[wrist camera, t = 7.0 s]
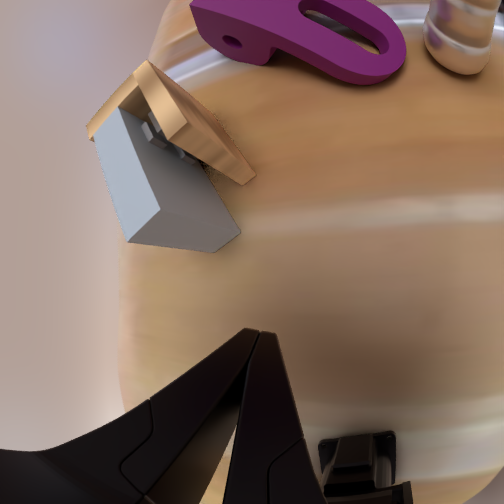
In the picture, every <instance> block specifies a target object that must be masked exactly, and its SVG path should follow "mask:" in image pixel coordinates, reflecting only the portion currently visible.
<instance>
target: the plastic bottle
mask: <svg viewBox="0 0 504 504" xmlns="http://www.w3.org/2000/svg"><path fill="white" fill-rule="evenodd" d="M500 3H501V0H431V2H430V8H429V11H428V13H427V15H426V18H425V21H424V25H423V35H424V42H425V45H426V47H427V49H428V50H429V52H430V53H431V55H432V56H433V57H434V59H435V60H436V61H437V62H439V63H440V64H441V65H442V66H444V67H445V68H447V69H449V70H451V71H453V72H455V73H459V74H464V75H470V74H476V73H479V72H480V71H481V70H482V69H483V68H484V67H485V65H486V64H487V63H488V61H489V56H490V51H491V37H492V33H493V27H494V22H495V17H496V14H497V11H498V7H499V6H500Z"/></svg>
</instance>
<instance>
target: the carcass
mask: <svg viewBox="0 0 504 504" xmlns="http://www.w3.org/2000/svg"><path fill="white" fill-rule="evenodd" d="M117 107H120V108H122V109H123V110H125V111H127V112H129V113H131V114H132V115H134V116H136V117H138V118H139V119H141V120H143V121H144V122H148V123H149V124H151V125H153V126H154V127H155V129H156V131H157V133H158V134H160V135H162V136H163V137H165V138H167V140H168V141H170V142H172V143H173V144H175V145H177V146H178V147H180V148H182V149H183V150H185V151H187V152H189V153H190V154H192V155H193V156H195V157H197V158H198V159H200V160H202V161H203V162H205V163H207V164H208V165H210V166H212V167H213V168H215V169H216V170H218V171H220V172H221V173H223V174H224V175H226V176H228V177H229V178H231V179H232V180H234V181H236V182H237V183H239V184H240V185H242V186H243V185H244V184H245V183H247V182H248V181H249V180H251V179H252V178H253V177H255V176H256V174H255V172H254V171H253V170H252V168H251V167H250V165H249V164H248V162H247V161H246V160H245V158H244V157H243V155H242V154H241V153H240V151H239V150H238V148H237V147H236V146H235V144H234V143H233V141H232V140H231V139H230V137H229V136H228V135H227V133H226V132H225V131H224V129H223V128H222V126H221V125H220V124H219V122H218V121H217V120H216V118H215V117H214V116H213V114H212V113H211V112H210V111H208V110H207V109H206V108H205V107H204V106H203V105H202V104H200V103H199V102H198V101H197V100H196V99H195V98H193V97H192V96H191V95H190V94H189V93H188V92H186V91H185V90H184V89H183V88H182V87H180V86H179V85H178V84H177V83H175V82H174V81H173V80H172V79H171V78H169V77H168V76H167V75H166V74H164V73H163V72H162V71H161V70H159V69H158V68H157V67H156V66H154V65H153V64H152V63H150V62H149V61H148V60H146V61H145V62H144V63H143V64H141V66H139V67H138V68H137V69H136V70H135V71H134V72H133V73H132V74H131V75H130V76H129V77H128V78H127V79H126V80H125V81H124V83H123V84H122V85H121V86H120V87H119V88H118V89H117V90H116V91H115V92H114V93H113V94H112V95H111V97H110V98H109V99H108V100H107V101H106V102H105V103H104V105H103V106H102V107H101V108H100V109H99V110H98V112H97V113H96V114H95V115H94V117H93V118H92V119H91V120H90V121H89V123H88V124H87V125H86V127H87V131H88V136H89V140H91V141H93V142H95V141H94V137H93V135H94V133H95V132H96V131H97V130H98V128H99V127H100V126H101V125H102V124H103V122H104V121H105V120H106V119H107V118H108V117H109V116H110V114H111V113H112V112H113V111H114V110H115V109H116V108H117Z"/></svg>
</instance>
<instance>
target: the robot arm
mask: <svg viewBox="0 0 504 504" xmlns="http://www.w3.org/2000/svg"><path fill="white" fill-rule="evenodd" d="M236 425H237V427H236ZM235 427H236V433H235V438H234V444H233V449H232V455H231V460H230V466H229V471H228V476H227V482H226V487H225V492H224V498H223V503H222V504H413V497H412V490H411V484H410V481H407V482H403V484H400V485H395V486H391V485H393V484H394V483H395V469H396V435H395V432H393V431H387V432H382V433H376V434H364V435H357V436H350V437H342V438H339V439H329V440H322V441H320V442H319V445H318V450H319V457H320V463H321V470H322V478H321V481H320V483H319V482H318V479H317V477H316V474H315V472H314V468H313V465H312V462H311V459H310V456H309V452H308V449H307V445H306V441H305V439H304V434H303V431H302V427H301V423H300V419H299V416H298V412H297V408H296V404H295V401H294V397H293V393H292V390H291V386H290V382H289V378H288V375H287V371H286V367H285V364H284V360H283V356H282V352H281V349H280V345H279V341H278V338H277V335H276V334H275V333H272V332H266V331H261V332H260V331H259V330H255V329H250V328H244V329H242V330H241V331H240V332H238V333H237V334H236V335H235V336H233V337H232V338H231V339H229V340H228V341H227V342H226V343H224V344H223V345H222V346H220V347H219V348H218V349H216V350H215V351H214V352H212V353H211V354H210V355H208V356H207V357H206V358H204V359H203V360H202V361H200V362H199V363H198V364H196V365H195V366H194V367H192V368H191V369H189V370H188V371H187V372H185V373H184V374H183V375H181V376H180V377H178V378H177V379H176V380H174V381H173V382H171V383H170V384H169V385H167V386H166V387H164V388H163V389H161V390H160V391H159V392H157V393H156V394H154V395H153V396H151V397H150V400H149V399H147V400H145V401H144V402H142V403H141V404H139V405H138V406H136V407H135V408H133V409H132V410H130V411H129V412H127V413H125V414H124V415H122V416H120V417H119V418H117V419H115V420H113V421H112V422H109V423H108V424H106V425H103V426H102V427H100V428H97V429H95V430H93V431H91V432H89V433H87V434H85V435H82V436H80V437H78V438H75V439H73V440H71V441H69V442H66V443H64V444H62V445H59V446H57V447H54V448H50V449H47V450H42V451H30V452H29V451H15V450H5V449H0V504H199V503H200V501H201V499H202V497H203V495H204V493H205V491H206V489H207V487H208V485H209V483H210V481H211V479H212V477H213V475H214V473H215V471H216V468H217V466H218V464H219V462H220V460H221V458H222V456H223V454H224V451H225V449H226V447H227V445H228V443H229V441H230V438H231V436H232V434H233V432H234V430H235ZM388 436H392V437H391V438H387V437H388ZM323 444H324V445H326V446H325V447H324V446H322V445H323Z"/></svg>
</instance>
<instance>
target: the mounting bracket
mask: <svg viewBox="0 0 504 504" xmlns="http://www.w3.org/2000/svg"><path fill="white" fill-rule="evenodd" d="M190 8H191V11H192V14H193V17H194V20H195V23H196V26H197V29H198V31H199V33H200V35H201V37H202V38H203V39H204V40H205V41H206V42H207V43H208V44H209V45H210V46H211V47H213V48H214V49H216V50H217V51H218V52H220V53H222V54H223V55H225V56H227V57H229V58H231V59H233V60H236V61H238V62H244V63H249V64H254V65H263V64H265V63H267V62H268V60H269V59H270V57H271V56H272V55H273V53H274V52H275V51H276V49H277V48H279V49H281V50H283V51H285V52H287V53H290V54H292V55H294V56H296V57H298V58H300V59H302V60H304V61H305V62H307V63H309V64H311V65H313V66H315V67H317V68H319V69H320V70H322V71H324V72H326V73H327V74H329V75H331V76H333V77H335V78H337V79H340V80H342V81H345V82H349V83H353V84H360V85H370V84H376V83H379V82H382V81H383V80H385V79H387V78H388V77H389V76H390V75H391V74H393V73H394V72H395V71H396V70H397V69H398V68H399V67H400V66H401V65H402V64H403V62H404V60H405V56H406V45H405V41H404V38H403V35H402V33H401V31H400V29H399V28H398V26H397V25H396V24H395V22H394V21H393V20H392V19H391V18H390V17H389V16H388V15H387V14H386V13H385V12H383V11H382V10H381V9H379V8H378V7H377V6H375V5H373V4H372V3H370V2H368V1H366V0H193V1H192V2H191V3H190ZM307 10H313V11H317V12H320V13H322V14H324V15H326V16H328V17H330V18H332V19H334V20H336V21H337V22H339V23H341V24H343V25H345V26H347V27H349V28H350V29H352V30H354V31H356V32H357V33H359V34H361V35H362V36H364V37H366V38H367V39H369V40H370V41H372V42H373V43H374V44H375V45H376V46H377V47H378V49H379V51H380V55H377V54H373V53H370V52H368V51H366V50H365V49H363V48H362V47H360V46H358V45H357V44H355V43H353V42H352V41H350V40H348V39H346V38H345V37H343V36H341V35H339V34H337V33H336V32H334V31H332V30H330V29H328V28H326V27H324V26H322V25H320V24H318V23H316V22H314V21H312V20H310V19H308V18H306V17H304V16H303V15H304V13H305V12H306V11H307Z"/></svg>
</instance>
